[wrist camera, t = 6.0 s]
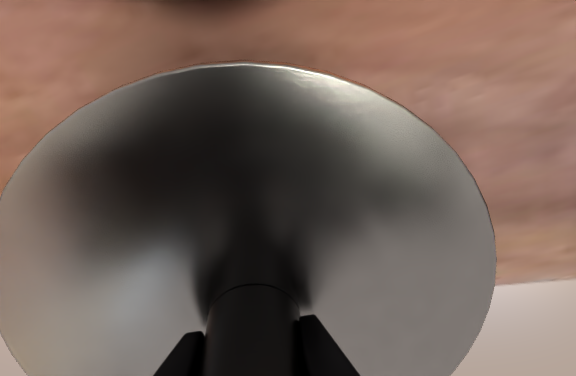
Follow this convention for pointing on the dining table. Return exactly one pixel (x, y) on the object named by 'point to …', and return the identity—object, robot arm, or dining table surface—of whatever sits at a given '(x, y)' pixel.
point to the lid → (243, 230)
